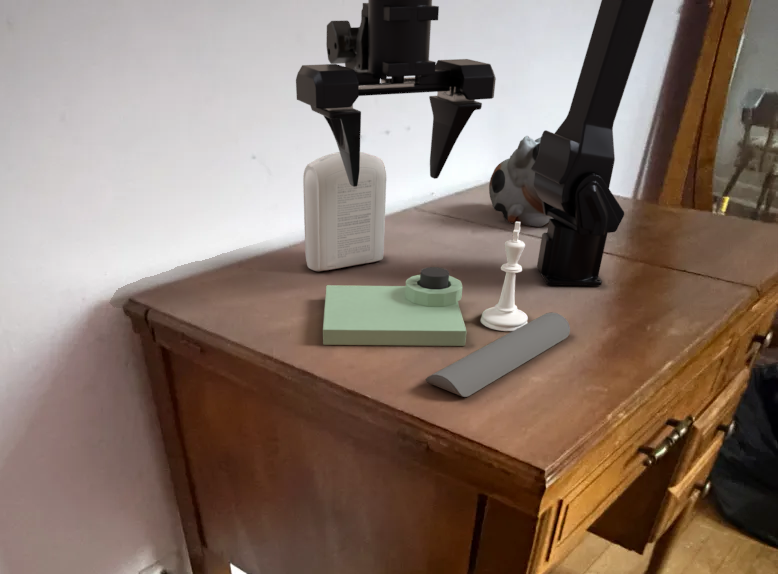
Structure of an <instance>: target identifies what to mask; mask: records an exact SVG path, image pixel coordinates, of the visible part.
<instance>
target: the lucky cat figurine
mask: <svg viewBox="0 0 778 574" xmlns="http://www.w3.org/2000/svg"><path fill="white" fill-rule="evenodd" d="M540 140H541V136H540V137H538V138H536V139H533V138H532V137H530V136H529V135H525V136H524V137H523V138H522V139H521V140H520V141H519V143H518V146H517V148H516V149H515V150H514V151H513V152H512V153H511V154H510V156H509V158H506V159H505V160H503V161H501V162H500V163H498V164H497V165H496V167H494V170H493V172H492V174H491V177H490V180H489V184H488V193H489V199H490V201H491V206H492V208H493V210H495V212H500V213H501V214H502V216H503V219H504V221H506V222H507V223H510V224H514V225H515V222H520V226H529V227H537V228H541V227H543V226H545V225H546V224H549V219H554V218H552V217H550V216H547V215H545V214H544V212H543V205H542V200H541V199H540V198H539V197H538V194H537V192H536V189H534V176H535V172H534V171H532V170H531V167H532V166H533V164H534V163H535V161H536V158H537V156H538V152H539V147H540Z"/></svg>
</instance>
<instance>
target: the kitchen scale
mask: <svg viewBox="0 0 778 574" xmlns="http://www.w3.org/2000/svg"><path fill="white" fill-rule="evenodd" d="M462 296H463V284H462V281H461V280H459V279H457V278H456V277H454V276H451V275H449V281H448V288H445V289H427V288H423V287H421V286H420V274H417V275H412V276H410V277H408V278H407V279H406V280H405V285H345V284H344V285H341V284H340V285H337V284H336V285H335V284H334V285H332V284H328V285H326V286H325V297H324V298H325V299H324V310H323V322H322V323H323V325H322V343H323V345H324V346H414V347H415V346H420V347H421V346H429V347H465V346H466V341H467V328H466V324H465V322H464V321H465V320H464V318H463V314H462V311H461V308H460V305H459V301H461V300H462Z"/></svg>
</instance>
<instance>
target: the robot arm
mask: <svg viewBox="0 0 778 574" xmlns="http://www.w3.org/2000/svg"><path fill="white" fill-rule="evenodd" d="M654 1H655V0H601V1H600V4H599V8H598V11H597V14H596V18H595V21H594V25H593V29H592V31H591V35H590V39H589V42H588V46H587V49H586V52H585V56H584V60H583V63H582V66H581V69H580V73H579V76H578V79H577V83H576V86H575V89H574V93H573V97H572V100H571V103H570V106H569V111H568V112H567V115H566V117H565V119H564V120H563V121H562V122H561V124H560V125H559V127H557V129H556V130H555V132H551V131H549V130H544V131H543V132H542V134H541V136H540V137H541V140H540V147H539V152H538V156H537V158H536V161H535V163H534V164H533V166H532V167H531V170H532V171H534V172H535V176H534V189H536V192H537V194H538V197H539V198H540V199H541V200H542V205H543V212H544V214H545V215H547V216H550V217H552V218H554V219H549V222H548V223H547V224H548V225H547V231H546V232H543V233H542V234H541V239H540V246H539V251H538V258H537V264H536V268H537V270H538V272H539V273H540V274H541V276H542V278H543V280H544V281H545V283H546V285H549V286H597V287H598V286H602V284H603V280H602V279H601V277H600V276H599V275H600V270H601V266H602V260H603V256H604V251H605V247H606V242H607V238H608V234H610V233H616V232H617V230H618V229H619V226H620V225H621V222H622V220H623V218H624V216H625V211H624V209H623V208H622V206H621V205H620V204H619V202H618V200H617V199H616V197H615V196H614V193H612V191H611V189H610V187H611V180H612V176H613V172H614V171H613V170H614V166H615V161H616V157H615V156H616V155H615V143H614V124H615V121H616V117H617V114H618V111H619V108H620V105H621V102H622V99H623V96H624V93H625V89H626V86H627V84H628V81H629V78H630V75H631V72H632V68H633V66H634V62H635V59H636V57H637V53H638V50H639V47H640V44H641V41H642V38H643V35H644V32H645V29H646V26H647V24H648V23H647V22H648V19H649V16H650V13H651V10H652V8H653V4H654ZM439 10H440V6H438V5H433V0H368V2H362V9H361V13H360V14H361V16H360V18H361V19H360V24H359V26H358V27H354V26H353V27H352V25H351V23H350V21H349V20H331V21H329V22H328V23H327V24H326V43H325V44H326V53H327V60H328V63H329V64H328V63H326V64H325V63H324V64H302V65H301V67H300V68H299V70H298V72H297V74H296V77H295V91H296V93H295V94H296V101H299V102H301V103H304V104H306V105H309V106H310V109H311V111H312V112H314V113H317V114H319V115H321V116H323V118H324V120H325V121H326V122H327V124H328V126H329V129H330V130H331V133H332V135H333V138H334V140H335V142H336V145H337V148H338V152H340V155H341V158H342V161H343V164H344V167H345V170H346V174H347V177H348V180H349V183H350V185H351V186H353V187H357V185H358V179H359V171H360V152H361V133H362V132H361V131H362V130H361V129H362V127H361V126H362V111H361V110H358V109H356V108H354V104H355V102H356V101H357V100H358V98H359V97H363V96H364V97H365V96H381V95H401V94H403V95H404V94H417V93H418V94H419V93H421V94H422V93H436V94H437V95H428V96H429V97H428V98H429V104H430V107H431V112H432V129H431V130H432V131H431V140H430V141H431V142H430V153H429V176H430V178H432V179H434V180H435V179H438V178H439V177H440V175H441V173H442V170H443V168H444V166H445V164H447V163H446V162H447V161H448V159H449V157H450V154H451V152H452V150H453V149H454V146H455V144H456V142H457V141H458V138H459V136H460V135H461V133H462V132H463V130H464V128H465V126H466V125H467V123H468V122H469V120H470V118H471V117H472V116H473V113H474V112H475V111H478V110H481V109H482V107H483V103H482V102H480V101H477V100H492V99H494V98H495V89H496V80H497V78H496V74H495V72H494V69H493V67H492V64H491V63H489V62H488V63H487V62H483V61H479V60H473V59H469V58H459V59H438V60H437V61H433V60H430V50H431V49H430V47H431V30H432V21H439V13H440V11H439ZM340 64H344V66H343V65H340Z"/></svg>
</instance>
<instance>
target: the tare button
mask: <svg viewBox="0 0 778 574" xmlns="http://www.w3.org/2000/svg"><path fill="white" fill-rule="evenodd" d="M419 275H420V286H421V287H423V288H427V289H445V288H448V281H449V276H450V271H449V270H448V269H446V268H443V267H439V266H429V267H424V268H422V269H421V270H420V273H419Z"/></svg>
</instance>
